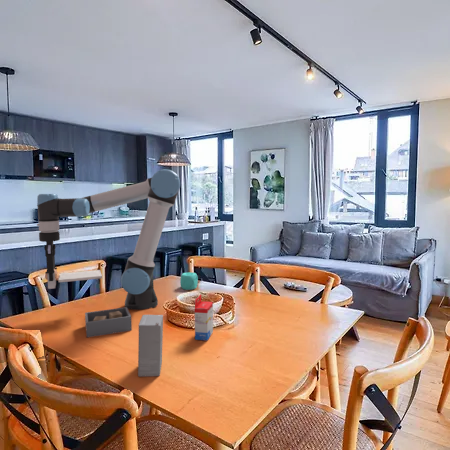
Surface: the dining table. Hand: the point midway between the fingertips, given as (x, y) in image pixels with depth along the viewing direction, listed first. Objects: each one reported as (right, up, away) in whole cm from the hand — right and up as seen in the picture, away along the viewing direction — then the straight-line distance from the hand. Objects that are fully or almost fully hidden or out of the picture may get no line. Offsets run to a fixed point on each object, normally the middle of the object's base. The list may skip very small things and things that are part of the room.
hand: (52, 286), depth 144 cm
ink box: (+65, -15, -16) cm, 68 cm away
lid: (+8, +3, +3) cm, 9 cm away
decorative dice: (+52, -10, +49) cm, 72 cm away
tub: (+27, -15, -10) cm, 32 cm away
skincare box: (+50, -18, -41) cm, 67 cm away
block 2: (+29, -14, -7) cm, 33 cm away
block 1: (+25, -14, -13) cm, 31 cm away
